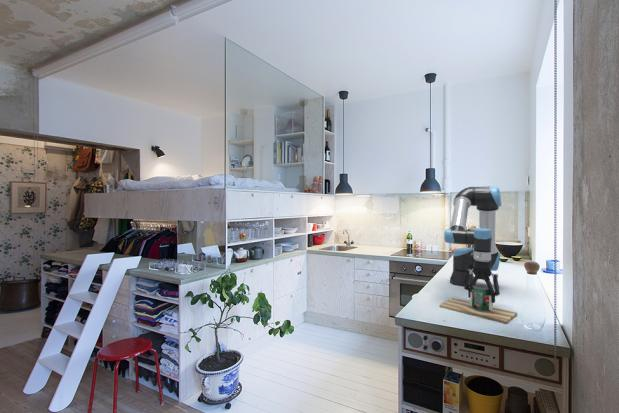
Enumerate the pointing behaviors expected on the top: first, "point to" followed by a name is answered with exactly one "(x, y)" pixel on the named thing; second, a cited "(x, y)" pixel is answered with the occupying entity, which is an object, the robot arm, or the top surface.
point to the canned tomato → (480, 298)
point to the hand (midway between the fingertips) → (481, 306)
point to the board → (466, 308)
